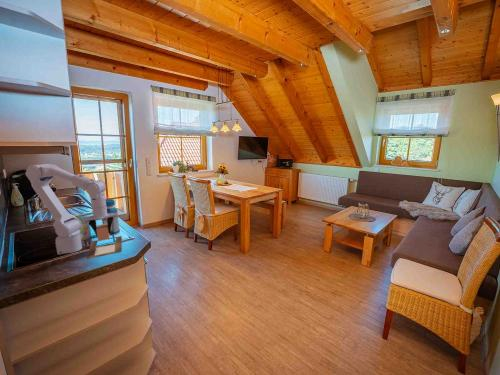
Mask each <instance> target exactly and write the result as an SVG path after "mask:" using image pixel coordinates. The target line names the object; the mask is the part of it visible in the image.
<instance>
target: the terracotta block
mask: <svg viewBox="0 0 500 375" xmlns="http://www.w3.org/2000/svg"><path fill="white" fill-rule="evenodd" d="M96 226H97V228H96V230H97V236H96V237H97V240H98V242H102V241H106V240H110V239H109V238H111V237H110V234H109V232H108V224H103V223H102V224H96Z"/></svg>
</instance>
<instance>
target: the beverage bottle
mask: <svg viewBox="0 0 500 375" xmlns="http://www.w3.org/2000/svg"><path fill="white" fill-rule="evenodd" d="M105 200H106V207H107V214H108V213H118V208H117V207H116V206H115V205H116V201H115V199H113V198H108V199H107V198H106V199H105ZM101 221H102V224H107V219H102V220H101ZM120 233H121V229H120V224H119V217H118V218H116V217H115V218H113V222H112V224H111V229H110V236H115V235H119V234H120Z"/></svg>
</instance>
